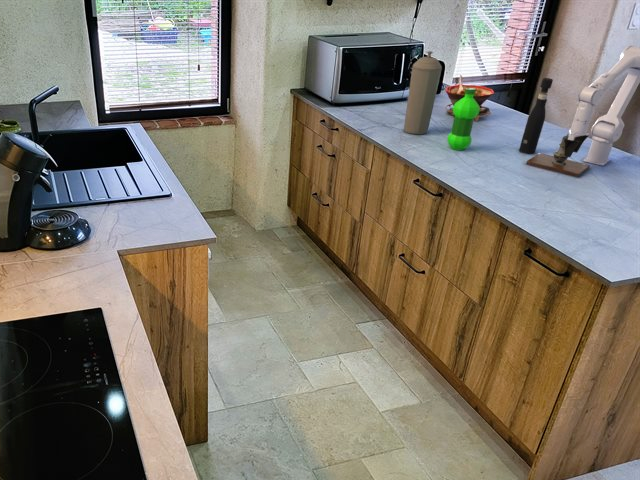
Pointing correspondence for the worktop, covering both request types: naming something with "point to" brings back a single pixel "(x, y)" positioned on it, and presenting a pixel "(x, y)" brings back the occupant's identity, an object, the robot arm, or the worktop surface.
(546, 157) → the cutting board
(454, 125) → the plastic bottle
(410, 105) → the canister
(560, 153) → the grey stone baluster
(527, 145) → the black bottle
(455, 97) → the stew
